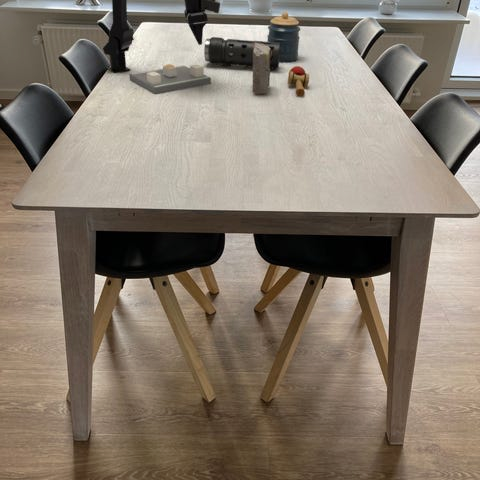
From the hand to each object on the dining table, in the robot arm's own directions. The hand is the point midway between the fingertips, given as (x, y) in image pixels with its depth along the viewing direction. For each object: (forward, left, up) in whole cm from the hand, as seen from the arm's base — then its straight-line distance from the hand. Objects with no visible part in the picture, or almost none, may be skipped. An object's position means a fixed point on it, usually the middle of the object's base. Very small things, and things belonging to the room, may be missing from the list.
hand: (199, 42), depth 175 cm
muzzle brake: (-8, +25, -14) cm, 30 cm away
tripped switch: (-6, -8, -11) cm, 15 cm away
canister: (-10, +47, -14) cm, 50 cm away
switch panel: (-6, -8, -14) cm, 17 cm away
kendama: (+23, +26, -14) cm, 37 cm away
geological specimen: (+18, +13, -14) cm, 26 cm away
